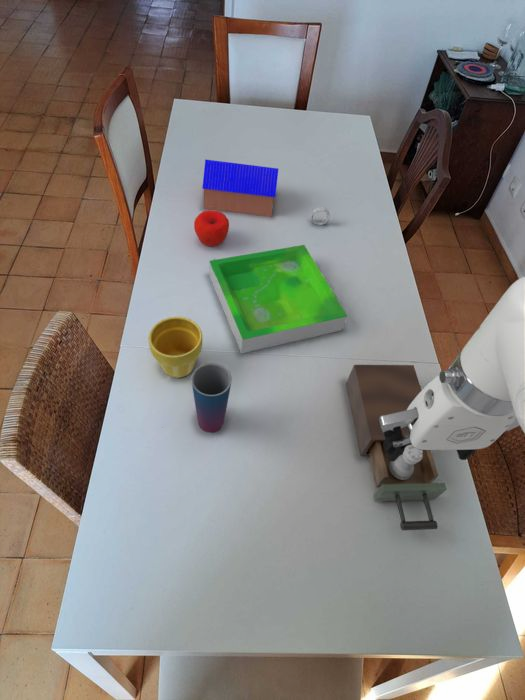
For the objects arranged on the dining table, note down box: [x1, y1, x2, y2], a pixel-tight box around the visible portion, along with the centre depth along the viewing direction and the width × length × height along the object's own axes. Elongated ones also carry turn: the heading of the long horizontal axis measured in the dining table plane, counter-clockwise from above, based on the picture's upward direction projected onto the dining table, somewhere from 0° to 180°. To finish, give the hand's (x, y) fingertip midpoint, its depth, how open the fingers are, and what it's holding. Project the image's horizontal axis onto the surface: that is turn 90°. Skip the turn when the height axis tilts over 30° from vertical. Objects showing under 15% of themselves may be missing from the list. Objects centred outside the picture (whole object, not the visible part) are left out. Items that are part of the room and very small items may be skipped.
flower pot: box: [148, 316, 204, 379], centre depth 92 cm, size 10×10×10 cm
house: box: [202, 158, 279, 218], centre depth 128 cm, size 12×20×12 cm, turn 87°
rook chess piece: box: [389, 445, 423, 480], centre depth 81 cm, size 4×4×8 cm
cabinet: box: [345, 364, 423, 457], centre depth 91 cm, size 17×13×7 cm
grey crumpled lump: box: [310, 207, 330, 226], centre depth 128 cm, size 3×5×5 cm, turn 90°
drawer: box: [368, 441, 448, 531], centre depth 83 cm, size 21×11×5 cm, turn 4°
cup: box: [191, 362, 233, 434], centre depth 83 cm, size 7×7×15 cm
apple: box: [193, 209, 230, 247], centre depth 118 cm, size 9×9×8 cm
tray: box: [209, 244, 348, 354], centre depth 108 cm, size 25×25×5 cm
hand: (424, 450), depth 60 cm, fingers open, 9 cm apart
